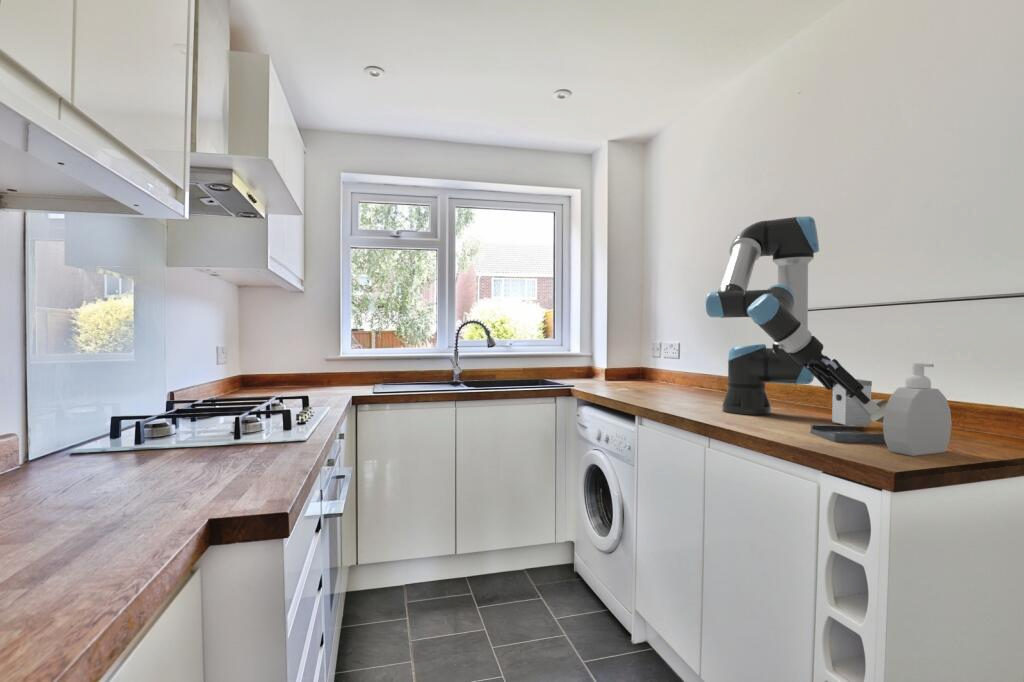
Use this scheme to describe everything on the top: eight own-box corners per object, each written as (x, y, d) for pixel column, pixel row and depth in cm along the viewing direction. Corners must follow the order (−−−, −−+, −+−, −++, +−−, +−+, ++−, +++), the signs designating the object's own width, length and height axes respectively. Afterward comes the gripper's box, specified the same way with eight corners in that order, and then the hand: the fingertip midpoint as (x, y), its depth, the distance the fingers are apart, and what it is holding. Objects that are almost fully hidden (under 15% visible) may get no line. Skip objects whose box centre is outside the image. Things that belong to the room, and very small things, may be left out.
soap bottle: (908, 457, 106) (909, 364, 106) (881, 452, 111) (883, 363, 111) (953, 452, 112) (955, 363, 112) (926, 447, 117) (928, 362, 117)
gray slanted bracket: (893, 448, 134) (929, 411, 136) (869, 423, 135) (906, 387, 137) (850, 445, 151) (883, 412, 152) (829, 423, 151) (862, 390, 153)
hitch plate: (810, 432, 134) (810, 417, 134) (865, 434, 132) (866, 418, 132) (835, 442, 122) (835, 424, 122) (896, 443, 120) (896, 426, 120)
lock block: (830, 421, 130) (831, 378, 130) (856, 421, 130) (857, 379, 130) (844, 424, 124) (844, 380, 124) (871, 425, 124) (871, 381, 124)
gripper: (773, 353, 138) (834, 414, 136) (807, 355, 119) (879, 426, 117) (793, 334, 137) (855, 395, 136) (831, 333, 118) (903, 404, 117)
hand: (866, 409), depth 126 cm, fingers closed on lock block, 6 cm apart
